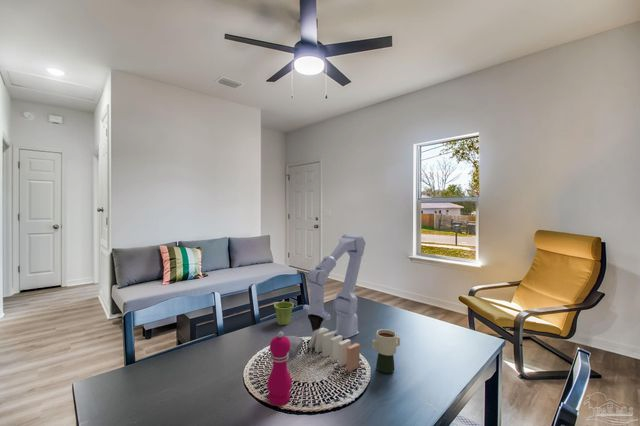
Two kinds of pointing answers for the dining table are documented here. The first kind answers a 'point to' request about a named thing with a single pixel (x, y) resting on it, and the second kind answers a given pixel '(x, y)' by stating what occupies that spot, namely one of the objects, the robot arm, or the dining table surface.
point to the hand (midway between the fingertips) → (315, 332)
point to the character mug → (385, 349)
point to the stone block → (294, 345)
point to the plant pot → (283, 312)
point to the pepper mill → (279, 371)
